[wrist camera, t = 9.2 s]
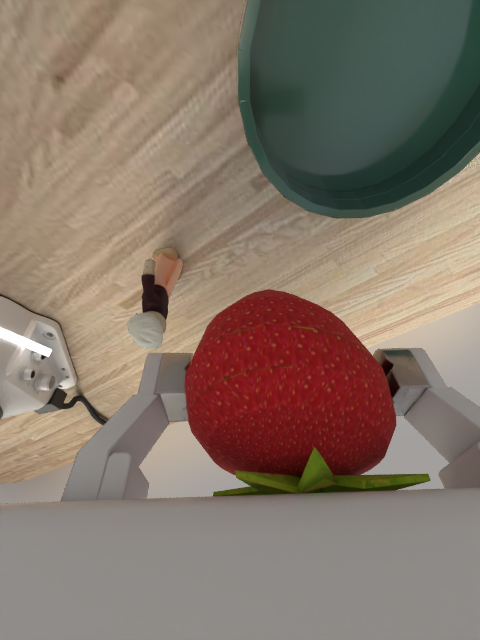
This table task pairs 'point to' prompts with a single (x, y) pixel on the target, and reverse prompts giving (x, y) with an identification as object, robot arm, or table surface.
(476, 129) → the bowl
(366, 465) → the strawberry
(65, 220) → the table surface
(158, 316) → the grandmother figurine
